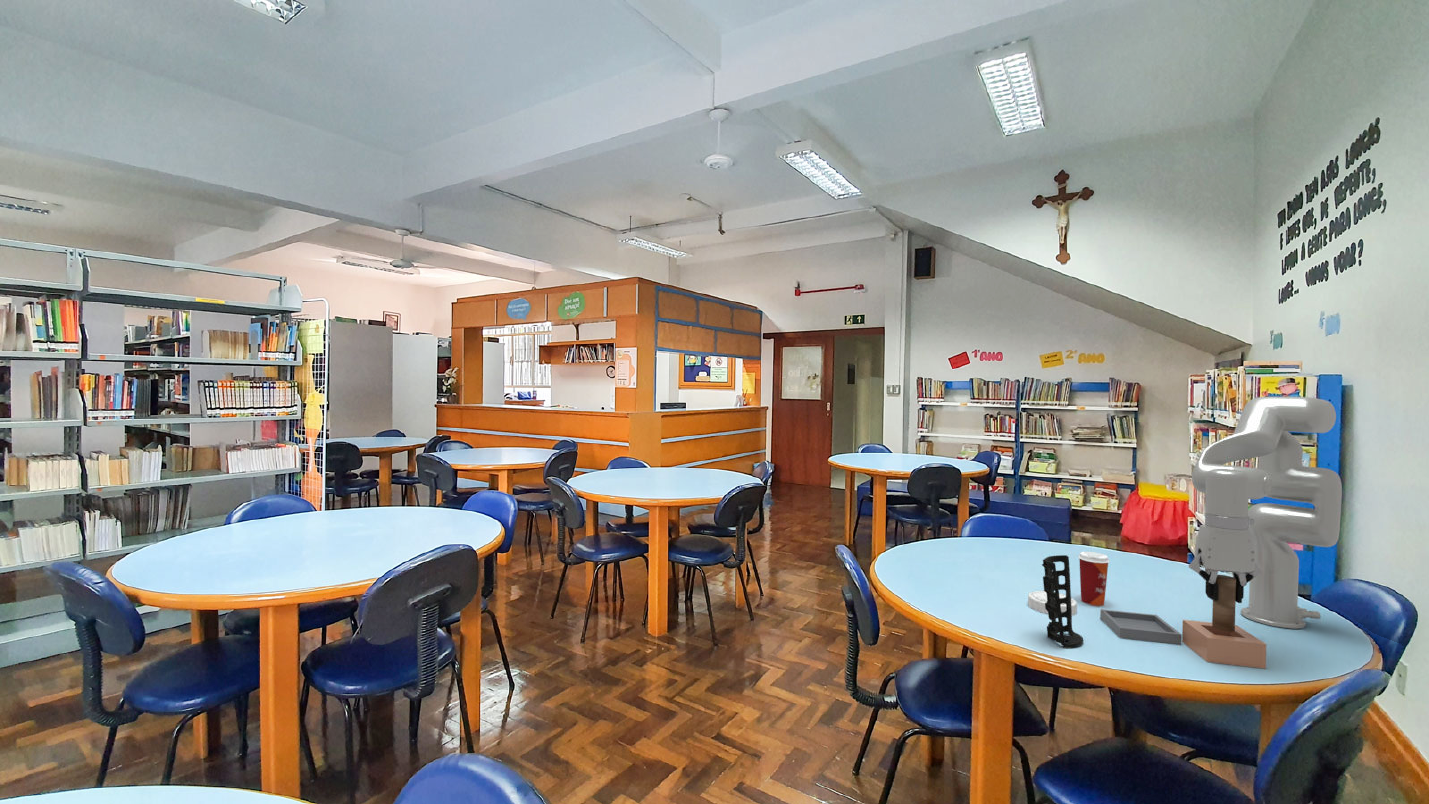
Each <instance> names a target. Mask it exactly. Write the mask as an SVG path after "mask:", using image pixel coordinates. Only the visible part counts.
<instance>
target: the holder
mask: <svg viewBox="0 0 1429 804" xmlns="http://www.w3.org/2000/svg"><path fill="white" fill-rule="evenodd" d="M1069 557H1070V556H1069V555H1067V554H1066V555H1064V554H1063V555H1062V554H1059V555H1051V556H1050V555H1049V556H1047V557H1045V558H1043V559H1042V564H1041V566H1042V567H1043V568H1044V569H1043V570H1044V575H1043V576H1042V582H1043V583H1042V584H1043V591H1045V592H1046V593H1047V603H1045V609H1046V610H1047V611H1048V614H1047V615H1048V619H1049V620H1050V621H1049V622H1048V624H1047V625H1046V634H1047V638H1049V639H1052V640H1054V641H1055V642H1056V643H1059V644H1061V646H1063V648H1065V649H1072V648H1074V647H1078V646H1081V645H1082V644H1084V638H1083V636H1082V635H1080V634H1079V633H1077V632H1075V631H1074V630H1073V619H1072V618H1073V615H1072V610H1071V598H1072V593H1071V588H1072V587H1071V571H1070V569H1071V568H1070V558H1069ZM1060 562H1061V563H1062V564H1063V567H1064V568H1063V569H1062V570H1057V569H1056V568H1057V567H1056V563H1060ZM1060 576H1061V577H1064V583H1061V584H1060V578H1059V577H1060ZM1061 590H1062V591H1065V595H1066V597H1065V598H1060V597H1059V593H1060V591H1061ZM1054 598H1055V599H1054ZM1061 604H1066V611H1065V612H1061ZM1063 618H1065V619H1066V624H1065V625H1064V624H1063ZM1057 620H1058V621H1057ZM1064 633H1068V635H1067V634H1064Z"/></svg>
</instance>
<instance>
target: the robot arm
mask: <svg viewBox="0 0 1429 804" xmlns="http://www.w3.org/2000/svg"><path fill="white" fill-rule="evenodd" d="M1336 420H1337V413H1336V410H1335V407H1334V405H1333V404H1332V403H1331V402H1330V401H1328V400H1326V399H1321V398H1316V397H1309V396H1307V397H1306V396H1259V397H1254V398H1253V399H1250V400H1249V401H1247V403H1246V404H1245V405H1244V407H1243V409H1242V412H1241V415H1240V416H1239V418H1238V422H1237V424H1236V426H1235V428H1234V432H1233V433H1232V434H1230V435H1228V436H1225V437H1223V438H1221V439H1219V440H1217V441H1215V442H1213V443H1212V444H1210V445H1208V446H1207V447H1205V448H1204V449H1203V450H1202V452H1201V453H1200V454H1199V456H1198V458H1197V461H1196V463H1195V464H1194V468H1193V469H1192V470H1193V471H1192V474H1191V483H1192V486H1193V487H1194V489H1195V490H1196V491H1198V492H1199V493H1202V494H1205V507H1204V511H1205V512H1204V524H1201V525H1199V529H1198V532H1197V537H1196V542H1195V548H1194V558H1193V560H1191V562H1190V563H1189V565H1188V568H1189V569H1190V570H1192V571H1194V572H1195V573H1196V574H1198V575H1199V576H1200V577H1201V578H1203V580H1205V595H1206V596H1207V598H1209V599H1210V600H1212V602H1213V601H1217V600H1218V584H1216V578H1217V575H1219V574H1218V573H1219V572H1221V573H1222V572H1225V573H1231V574H1232V577H1234V578H1236V603H1239V604H1242V603H1243V602H1242V601H1243V599H1244V595H1245V594H1244V593H1245V592H1244V591H1245V589H1244V588H1245V587H1246V586H1247V585H1249V586H1248V587H1249V589H1248V591H1249V592H1248V606H1247V607H1243V608H1241V609H1240V613H1241V616H1243V617H1245V618H1247V619H1249V620H1250V621H1253V622H1257V623H1259V624H1264V625H1267V626H1271V627H1272V626H1273V627H1278V628H1283V629H1292V630H1293V629H1295V630H1296V629H1297V630H1299V629H1304V628H1305V627H1306V622H1305V620H1304V619H1306V618H1309V619H1316V620H1320V619H1321V613H1320V611H1316V610H1308V609H1306V608H1302V607H1299V605H1298V604H1299V601H1298V600H1299V598H1298V597H1299V571H1300V560H1299V557H1298V554H1297V553H1296V551H1295V550H1294V549H1293V548H1292V546H1290V545H1289V544H1288V543H1295V544H1296V543H1297V544H1300V545H1309V546H1312V547H1322V548H1330V547H1333V546H1335V545H1336V544H1337V543H1338V540H1339V538H1340V530H1341V515H1342V498H1343V485H1342V480H1341V477H1340V475H1339V474H1338V473H1337V472H1336V471H1334V470H1332V469H1329V468H1323V467H1316V466H1315V467H1314V466H1305V465H1303V457H1304V456H1303V454H1304V448H1303V445H1302V444H1301V443H1300V442H1299V441H1298V439H1297V438H1296V437H1295V436H1294V435H1293V434H1291V433H1292V432H1294V433H1296V432H1297V433H1314V434H1325V433H1328V432H1330V431H1331V430H1332V429H1333V427H1334V426H1335V424H1336ZM1255 458H1258V467H1252V466H1251V467H1249V466H1239V465H1238V466H1237V465H1231V464H1230V465H1228V463H1233V462H1238V461H1245V460H1249V459H1255ZM1265 497H1267V498H1271V499H1275V500H1281V501H1290V502H1291V501H1292V502H1297V503H1305V504H1306V503H1307V504H1311V505H1313V506H1314V508H1308V507H1301V506H1295V505H1287V504H1281V503H1280V504H1278V503H1269V502H1268V503H1267V502H1265V503H1264V502H1262V503H1256V504H1253V505H1252V506H1250V507H1249V500H1260V499H1264V498H1265ZM1200 567H1203V568H1204V569H1202V568H1200Z"/></svg>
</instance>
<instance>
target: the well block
mask: <svg viewBox="0 0 1429 804" xmlns="http://www.w3.org/2000/svg"><path fill="white" fill-rule="evenodd" d="M1181 631H1182V633H1181V634H1182V643H1183V644H1184V645H1185V646H1186V647H1188V648H1189V649H1190V650H1191V651H1193V652H1194V653H1195V654H1196V655H1198V656H1199V657H1201V658H1202V660H1204V661H1205V662H1208V663H1213V664H1221V665H1224V664H1225V665H1232V666H1240V667H1248V668H1256V669H1257V668H1258V669H1264V670H1265V669H1267V668H1266V667H1267V643H1265V642H1264V641H1262V640H1260V639H1259V638H1258V637H1256V636H1254V635H1253V634H1251V633H1249V632H1248V631H1246V630H1245V629H1243V628H1242V627H1240V626H1239V625H1237V624H1235V631H1233V632H1228V631H1222V630H1219V629H1216V628H1214V627H1213V626H1212V622H1209V621H1201V620H1200V621H1198V620H1190V619H1189V620H1188V619H1182V629H1181Z"/></svg>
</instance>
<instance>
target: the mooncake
mask: <svg viewBox="0 0 1429 804" xmlns="http://www.w3.org/2000/svg"><path fill="white" fill-rule="evenodd" d="M1059 597H1060V598H1065V597H1066V594H1064V593H1060V592H1059ZM1054 599H1055V598H1054ZM1045 603H1047V593H1046V592H1045V591H1044V590H1039V591H1036V590H1035V591H1031V592H1030V593H1028V596H1027V604H1028V605H1027V606H1028V607H1029V608H1031V609H1033V610H1034V611H1036V612H1039V613H1042V614H1046V615H1048V611H1047V610H1046V609H1045ZM1071 610H1072V616H1076V614H1077V613H1078V602H1077V601H1076V600H1075V599H1074V598H1073V597H1071ZM1065 611H1066V604H1061V612H1065Z"/></svg>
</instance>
